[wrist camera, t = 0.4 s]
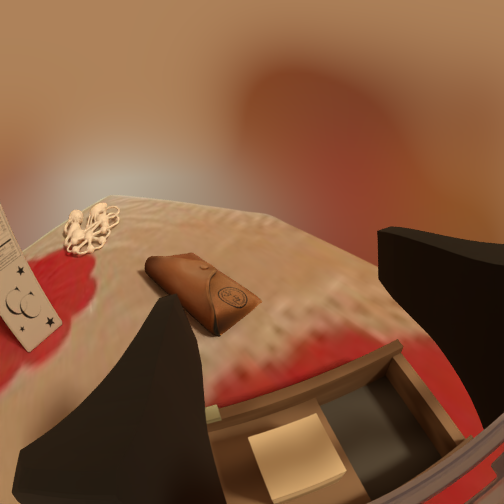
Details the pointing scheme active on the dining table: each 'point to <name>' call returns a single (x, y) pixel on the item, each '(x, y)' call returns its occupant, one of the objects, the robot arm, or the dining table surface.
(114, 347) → the dining table surface
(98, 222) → the tangled rod sculpture
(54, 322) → the cereal box
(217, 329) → the sunglasses case
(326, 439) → the birch block
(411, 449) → the trap lane
